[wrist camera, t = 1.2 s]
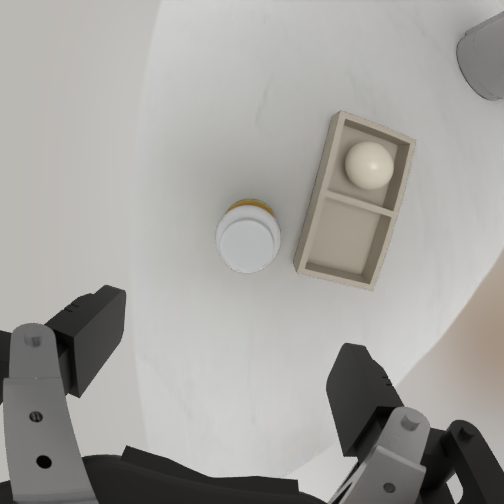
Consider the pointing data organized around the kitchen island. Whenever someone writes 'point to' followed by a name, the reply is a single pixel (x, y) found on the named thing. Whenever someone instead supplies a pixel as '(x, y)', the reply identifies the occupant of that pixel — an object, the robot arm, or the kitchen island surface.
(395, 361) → the kitchen island surface
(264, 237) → the supplement bottle
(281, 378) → the kitchen island surface
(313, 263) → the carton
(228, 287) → the kitchen island surface
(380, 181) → the egg
